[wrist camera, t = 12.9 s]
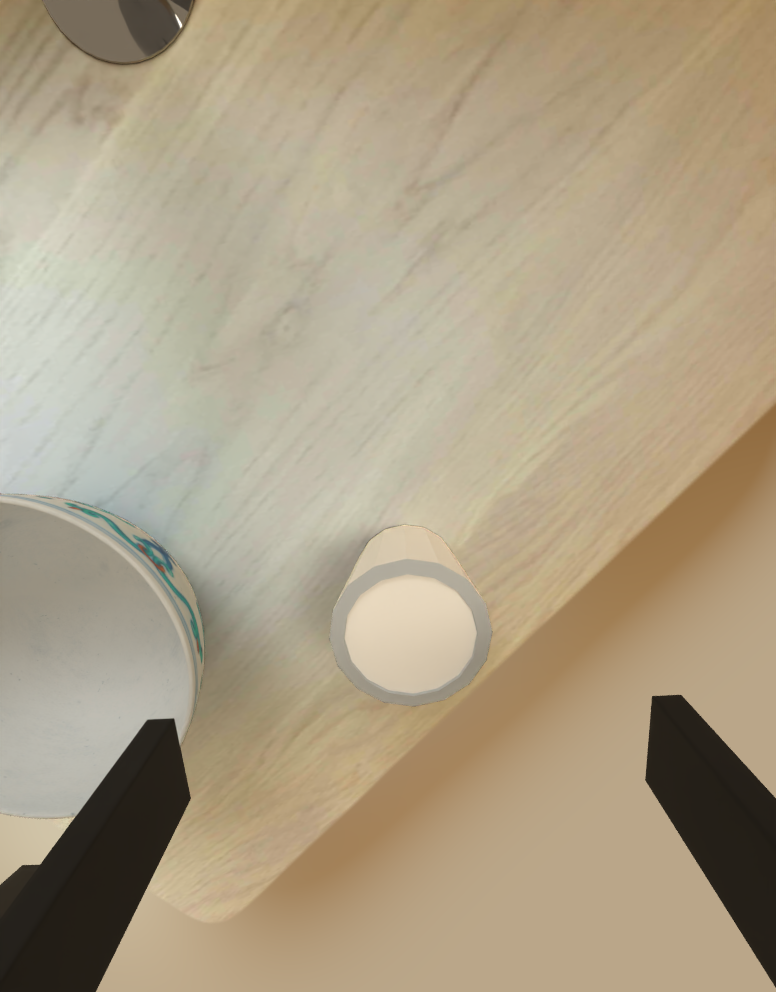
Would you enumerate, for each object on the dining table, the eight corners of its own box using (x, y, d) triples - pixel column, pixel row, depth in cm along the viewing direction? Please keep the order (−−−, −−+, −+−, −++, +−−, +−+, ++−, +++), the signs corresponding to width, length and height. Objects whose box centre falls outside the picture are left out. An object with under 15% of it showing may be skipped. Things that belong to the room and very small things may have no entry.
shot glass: (368, 497, 25) (358, 537, 18) (485, 536, 26) (518, 591, 19) (330, 606, 27) (308, 680, 20) (442, 642, 27) (457, 727, 20)
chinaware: (177, 745, 29) (101, 871, 21) (-48, 625, 27) (-216, 716, 20) (298, 557, 26) (258, 625, 18) (53, 410, 24) (-100, 419, 17)
